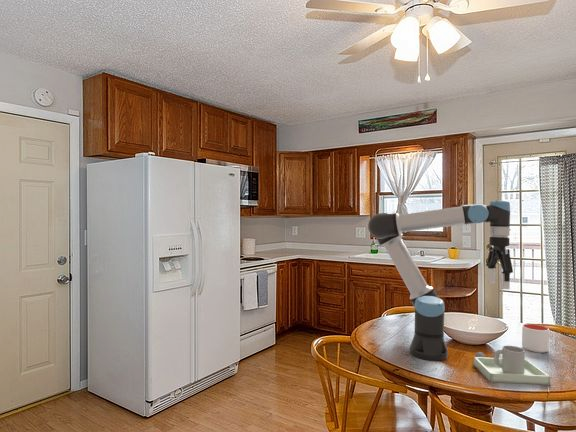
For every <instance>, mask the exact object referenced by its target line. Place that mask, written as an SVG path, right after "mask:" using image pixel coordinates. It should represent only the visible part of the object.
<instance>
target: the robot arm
mask: <svg viewBox="0 0 576 432" xmlns="http://www.w3.org/2000/svg"><path fill="white" fill-rule="evenodd" d="M482 223H489V236H490V237H489V242H488V243H489V253H488V256H487V259H486V267H487V268H488V277H487V278H488V279H487V282H488V284H496V269H497V267H496V266H497V263H498V261H499V263H500V266H501V270H502V271H501V289H502V290H510V289H511V288H510V281H511V276H510V275H511V273H513V272H514V268H513V264H512V259H511V255H510V253H511V252H510V251H511V250H510V249H509V248H506V247H508V246H509V247H510V231H511V227H510V226H511V225H510V224H511V204H510V201H508V200H491V201H490V203H489V204H482V203H474V204H462V205H460V206H455V207H454V206H453V207H447V208H439V209H433V210H426V211H425V210H424V211H417V212H410V213H404V214H399V213H396V212H395V213H387V212H382V213H376V214H374V215H372V216H371V217H370V219H369V220H368V224H367V229H368V232H369V234H370V235H371V236H372V237H374V238H375V239H376V240H377V242H378V244H379V246H380V247H384V248H385V250H386V251H387V254H388V255H389V257H390V260H391V261H392V262H393V264H394V267H395V268H396V270H397V271H398V274H399V275H400V277H401V279H402V281H403V282H404V284H405V286H406V287H407V290H408V291H409V293H410V295H409V300H410V302H411V304H412V305H413V307H414V333H413V337H412V340H411V343H410V345H409V353H410V354H411V355H412V356H413V357H415V358H418V359H420V360H421V359H422V360H426V361H434V362H435V361H444V360H447V359H448V357H449V350H448V347H447V344H446V341H445V337H444V336H445V334H444V333H445V310H446V309H445V308H446V307H445V302H444V300H443V299H441V298H440V296H439V295H438V294H437V292H436V291H435V288H434V287H433V286H430V285H428V283H427V281H426V280H425V278H424V276H423V274H422V273H421V271H420V269H419V267H418V265H417V264H416V262H415V260H414V258H413V257H412V255H411V253H410V251H409V250H408V248H407V245H406V244H405V242H404V240H403V235H404V234H403V233H406V232H407V233H408V232H414V231H415V232H416V231H423V230H431V229H439V228H447V227H453V226H461V225H463V226H464V225H470V224H482Z"/></svg>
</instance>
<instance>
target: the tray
mask: <svg viewBox="0 0 576 432" xmlns="http://www.w3.org/2000/svg"><path fill="white" fill-rule="evenodd" d="M499 362H500V363H502V357H499ZM473 366H474V367H475V368H476V369H477V370H478V371H479V372H480V373H482V375H483V376H484V377H485V378H486V379H487V380H488V381H489V382H490V383H500V384H501V383H502V384H503V383H504V384H520V385H521V384H523V385H537V384H542V385H541V386H551V380H552V379H551V375H549V374H548V373H546V372H545V371H543V370H542V369H541V368H539V367H538V366H537V365H536V364H534V363H533V362H531V361H530V360H529V359H525V364H524V374H507V373H504V372H503V371H502V368H500V367H498V366H497V365H496V364H495V362H494V357H486V356H485V357H475V356H473Z"/></svg>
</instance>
